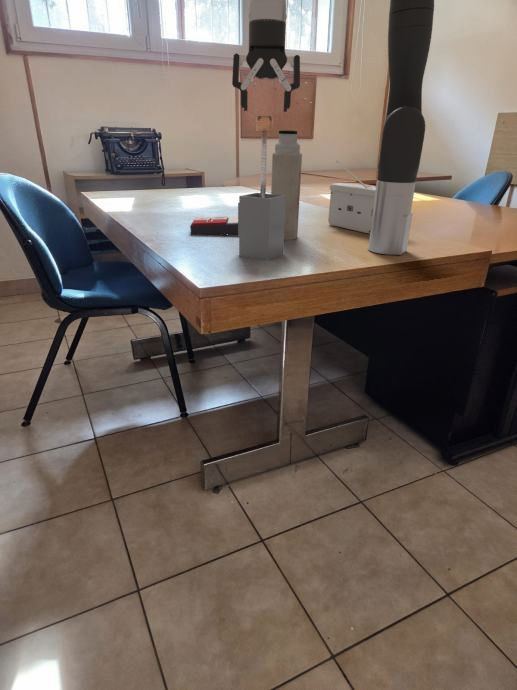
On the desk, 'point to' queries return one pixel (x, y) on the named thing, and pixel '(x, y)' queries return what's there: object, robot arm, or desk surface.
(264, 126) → the plunger
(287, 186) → the thermos bottle
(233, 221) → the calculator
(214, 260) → the desk surface
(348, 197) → the stereo radio cassette player
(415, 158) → the robot arm
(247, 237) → the grey hexagonal pencil cup
